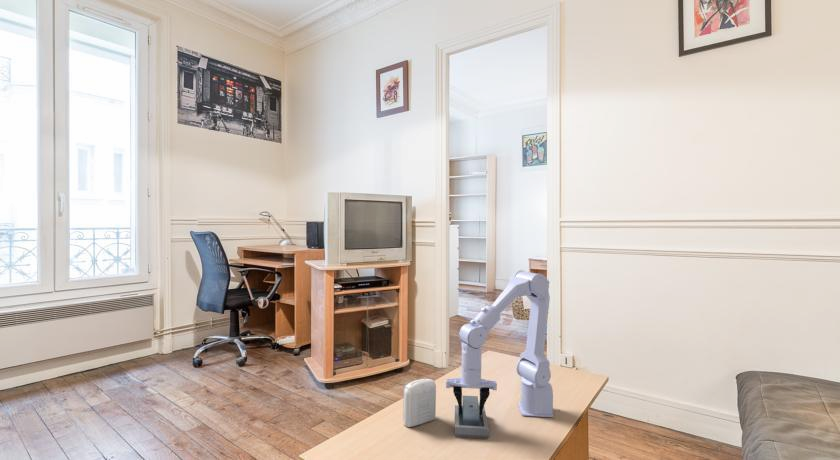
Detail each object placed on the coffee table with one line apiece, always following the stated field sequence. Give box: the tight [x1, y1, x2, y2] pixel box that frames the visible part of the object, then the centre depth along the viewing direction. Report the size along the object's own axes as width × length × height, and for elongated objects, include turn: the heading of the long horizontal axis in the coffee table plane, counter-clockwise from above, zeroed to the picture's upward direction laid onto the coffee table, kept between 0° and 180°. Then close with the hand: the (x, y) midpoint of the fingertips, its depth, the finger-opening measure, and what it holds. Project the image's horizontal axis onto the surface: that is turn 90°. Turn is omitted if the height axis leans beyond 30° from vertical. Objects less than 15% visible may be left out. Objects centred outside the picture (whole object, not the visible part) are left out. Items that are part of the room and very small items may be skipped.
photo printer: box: [402, 378, 437, 428], centre depth 114 cm, size 10×4×12 cm, turn 123°
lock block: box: [462, 395, 480, 426], centre depth 112 cm, size 4×8×6 cm, turn 175°
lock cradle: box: [454, 404, 489, 440], centre depth 112 cm, size 9×12×3 cm
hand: (470, 412), depth 112 cm, fingers open, 5 cm apart
